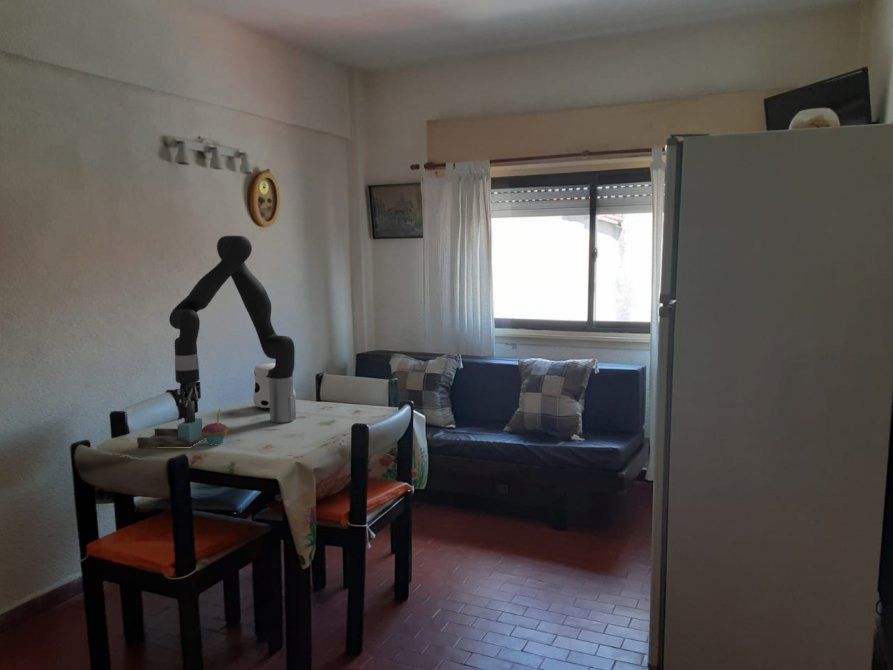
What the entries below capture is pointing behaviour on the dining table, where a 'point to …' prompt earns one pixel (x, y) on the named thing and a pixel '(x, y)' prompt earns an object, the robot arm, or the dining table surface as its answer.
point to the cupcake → (215, 432)
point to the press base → (166, 439)
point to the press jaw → (190, 424)
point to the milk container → (263, 386)
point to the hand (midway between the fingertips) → (189, 415)
